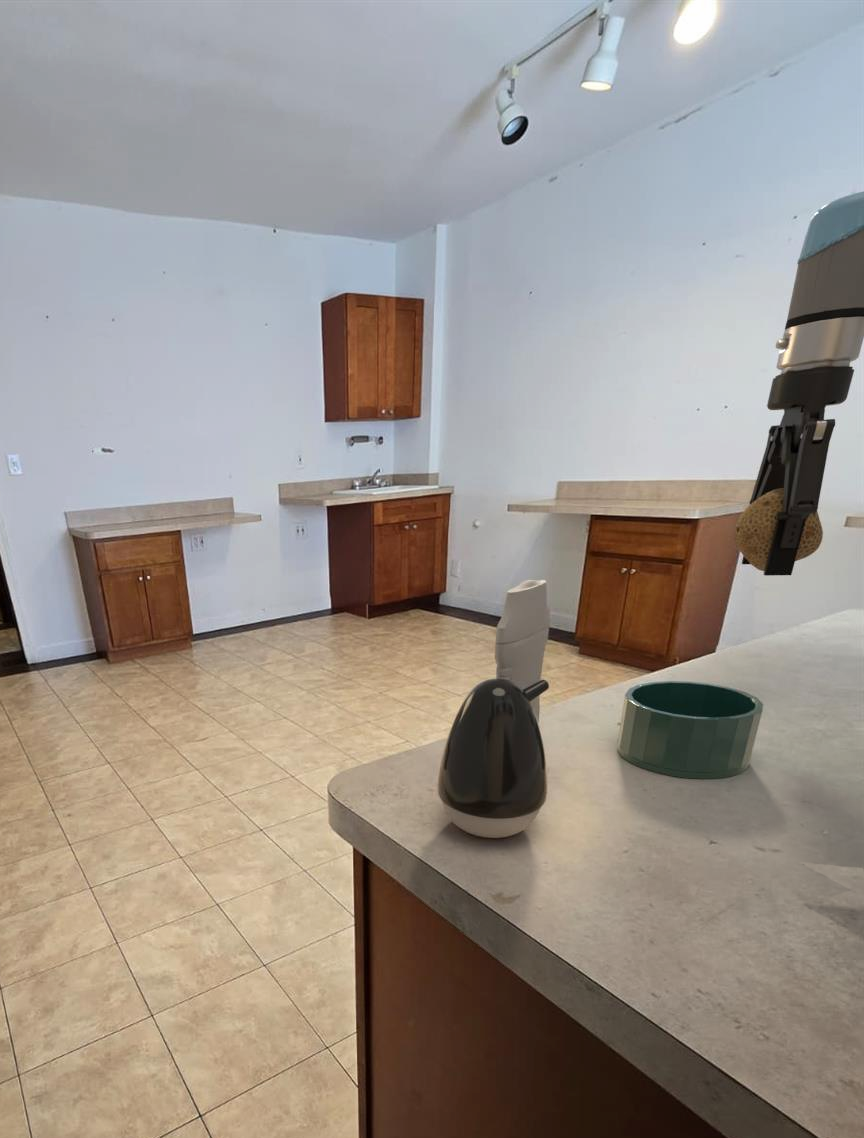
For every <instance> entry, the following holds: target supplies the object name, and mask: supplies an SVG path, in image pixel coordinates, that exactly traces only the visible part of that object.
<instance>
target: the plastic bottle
mask: <svg viewBox="0 0 864 1138" xmlns="http://www.w3.org/2000/svg"><path fill="white" fill-rule="evenodd" d="M503 605H504V606H503V610H502V613H501V618H500V619H499V621H498V622H497V625H496V634H495V646H494V660H495V663H496V668H495V674H496V675H495V679H496V678H500V679H506V680H509V681H512V682H514V683H515V684H517V685H518V686H519V687H520V688H521V689H522V690H523V689H525V688H527V687H529V686H531V685H533V684H535V683H536V682H538V681H540V680H542V672H543V664H544V657H545V651H546V647H547V644H548V642H549V641H548V639H549V631H550V622H551V621H550V619H551V608H550V606H549V605H548V591H547V580H545V579H541V580H534V579H528V580H524V581H522V582H521V583H519V584H518V585H517V586H513V587H512V588H510V589H508V590H507V592H506V597H505V601H504V604H503ZM540 696H541V695H539V696H538V697H537V698H535V699H534V700H532V701H531V702H530V703H531V705H532V707H533V710H534V712H535V715H536V718H537V721H538V724H539V725H540V723H539V722H540V714H541V713H540V712H541V711H540V710H541V708H540V707H541V706H540V705H541V703H540V701H541V699H540Z"/></svg>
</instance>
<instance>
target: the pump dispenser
mask: <svg viewBox="0 0 864 1138" xmlns="http://www.w3.org/2000/svg"><path fill="white" fill-rule="evenodd" d="M549 689H550V684H549V682H548V681H547V680H546V679H541V680H540V681H538V682H536V683H535V684H533V685H531V686H529V687H527V688H525V689H523V690H522V689H521V688H520V687H519V686H518V685H517V684H515V683H514V682H512V681H509V680H506V679H500V678H496V677H495V678H490V679H487V680H484V681H482V682H480V683H478V684H477V685H475V686H474V687H473V688H472V689H471V690H470V691H469V693H468V695H467V696H466V697H465V699H464V700H463V702H462V703H461V705H460V707H459V709H458V711H457V713H456V715H455V717H454V720H453V721H452V722H453V723H452V724H451V727H450V730H449V732H448V735H447V738H446V740H445V741H446V742H445V744H444V749H443V752H442V756H441V761H440V766H439V771H438V776H437V795H438V797H439V799H440V800H441V804H442V806H443V809H444V811H445V813H446V815H447V817H448V818H449V820H450V821H451V822H452V823H453V824H454V825H455V826H456V827H458V828H459V829H460V830H462V831H464V832H465V833H467V834H471V835H473V836H476V837H481V838H487V839H490V838H491V839H501V838H506V837H511V836H514V835H516V834H519V833H521V832H522V831H524V830H526V828H528V827H529V826H530V825H531V824H532V823H533V822H534V820H535V819H536V818H537V817H538V814H539V812H540V810H541V808H542V807H543V806H544V805H545V803H546V800H547V795H548V775H547V774H548V773H547V757H546V752H545V745H544V740H543V735H542V732H541V727H540V723H539V724H538V721H537V718H536V715H535V712H534V710H533V707H532V705H531V703H530V702H531V701H532V700H534V699H535V698H537V697H538V696H539V695H540V696H541V695H542V694H543V693H545V692H546V691H548V690H549Z"/></svg>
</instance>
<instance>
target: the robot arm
mask: <svg viewBox="0 0 864 1138" xmlns="http://www.w3.org/2000/svg"><path fill="white" fill-rule="evenodd" d="M863 342H864V191H860V192H855V193H851V194H848V195H845V196H842V197H839V198H837V199H834V200H832V201H830V202H828V203H826V204H825V205H823V206H822V207H821V208H819V209H818V210H817V211H816V212H815V213H814V214H813V216H812V217H811V219H810V220H809V224H808V227H807V231H806V234H805V236H804V240H803V243H802V248H801V252H800V255H799V258H798V259H797V268H796V274H795V279H794V284H793V288H792V294H791V298H790V303H789V308H788V312H787V319H786V322H785V326H784V331H783V335H782V338H780V339H778V340H777V341H776V342H775V348H776V350H777V349H778V350H779V349H780V351H779V353H778V358H777V362H776V366H775V367H776V369H777V370H778V371H780V373H779V374H776V375H775V377H774V378H772V382H771V386H770V391H769V394H768V400H767V404H766V406H767V407H766V408H767V409H768V410H770V411H782V410H783V411H784V412H783V415H782V417H781V420H780V423H779V424H776V425H771V426H770V428H769V430H768V436H767V441H766V446H765V450H764V453H763V457H762V459H761V463H760V467H759V471H758V473H757V476H756V481H755V484H754V487H753V490H752V494H751V496H750V497H751V498H750V500H749V505H750V504H752V503H753V502H754V501H755V500H757V499H758V498H759V497H761V496H763V495H765V494H766V493H768V492H770V491H773V490H776V489H779V488H784V493H783V505H782V512H778V513H777V514H776V515H775V516H774V519H775V520H777V522H776V526H775V530H774V534H773V538H772V542H771V546H770V550H769V554H768V558H767V562H766V567H765V571H763V576H792V574H793V571H794V567H795V563H796V561H795V559H796V555H797V552H798V548H799V544H800V540H801V536H802V533H803V529H804V525H805V521H806V519H807V518H808V517H809V515H810V514H815V513H816V512H818V509H819V503H820V498H821V492H822V486H823V480H824V475H825V469H826V464H827V459H828V458H827V457H828V452H829V447H830V442H831V439H832V435H833V432H834V429H835V427H836V419H835V418H828V419H825V411H826V407H829V406H835V405H841V404H844V402H846V400H847V399H848V395H849V392H850V388H851V384H852V380H853V377H854V372H855V369H853V366H851V363H853V362H854V361H856V360H857V359H858V358H859V357H860V354H861V349H862V346H863ZM741 564H742V565H751V564H750V563H749V561H748V560H747V559H746V558H745V557H744V555H743V554H742V560H741Z"/></svg>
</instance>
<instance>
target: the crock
mask: <svg viewBox="0 0 864 1138" xmlns="http://www.w3.org/2000/svg"><path fill="white" fill-rule="evenodd" d="M622 705H623V706H622V711H621V718H620V724H619V731H618V737H617V746H616V747H617V752H618V754H619V756H621V758H623V759H624V760H625V761H626V762H628V763H630V764H632V765H634V766H636V767H639V768H641V769H644V770H647V771H649V772H654V773H657V774H660V775H665V776H671V777H676V778H683V779H685V778H686V779H695V780H697V779H698V780H711V779H713V780H714V779H725V778H729V777H733V776H736V775H737V776H738V775H740V774H741V773H743V772H744V771H746V770H747V769H748V767H749V763H750V761H751V758H752V753H753V748H754V745H755V741H756V737H757V734H758V729H759V726H760V722H761V718H762V714H763V711H764V710H763V709H764V703H763V702H762V701H761V700H760V699H759V698H758V697H757V696H755V695H753V694H750V693H749V692H747V691H742V690H740V689H736V688H732V687H729V686H723V685H719V684H714V683H708V682H697V681H688V680H687V681H686V680H684V681H683V680H677V681H676V680H666V681H665V680H664V681H663V680H662V681H652V682H651V681H650V682H646V683H640V684H637V685H634V686H631V687H630V688H628V690H627V691H626V692H625V693H624V699H623V704H622Z"/></svg>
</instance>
